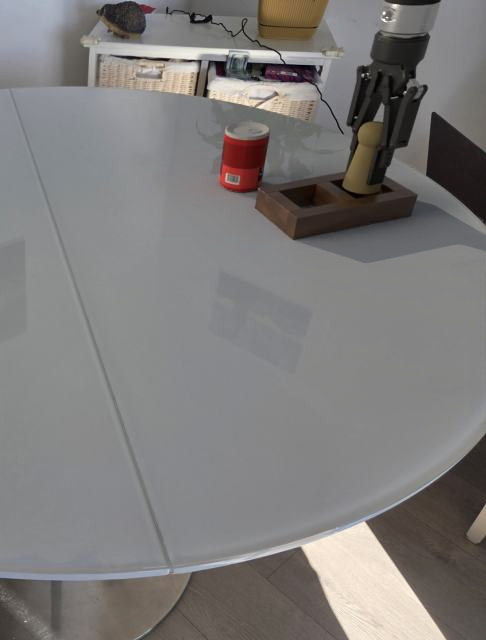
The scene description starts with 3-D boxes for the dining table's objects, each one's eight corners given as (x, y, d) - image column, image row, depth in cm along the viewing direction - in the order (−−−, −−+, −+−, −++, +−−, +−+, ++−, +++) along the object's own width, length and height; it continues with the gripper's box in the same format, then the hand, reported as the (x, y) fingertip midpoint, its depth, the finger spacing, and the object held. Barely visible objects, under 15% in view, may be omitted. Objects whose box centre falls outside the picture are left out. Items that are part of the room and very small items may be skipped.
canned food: (266, 191, 121) (276, 134, 114) (224, 194, 122) (231, 138, 115) (254, 174, 127) (263, 119, 120) (214, 177, 127) (220, 123, 121)
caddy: (411, 216, 110) (418, 194, 108) (292, 239, 107) (297, 218, 104) (364, 186, 120) (370, 166, 117) (254, 207, 117) (258, 187, 114)
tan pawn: (361, 196, 108) (378, 133, 102) (334, 183, 113) (349, 122, 106) (388, 188, 110) (407, 125, 103) (360, 175, 115) (377, 114, 108)
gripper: (344, 22, 102) (314, 161, 117) (423, 49, 89) (378, 202, 103) (385, 16, 103) (350, 154, 118) (470, 41, 90) (419, 194, 104)
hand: (363, 176), depth 110 cm, fingers closed on tan pawn, 5 cm apart
